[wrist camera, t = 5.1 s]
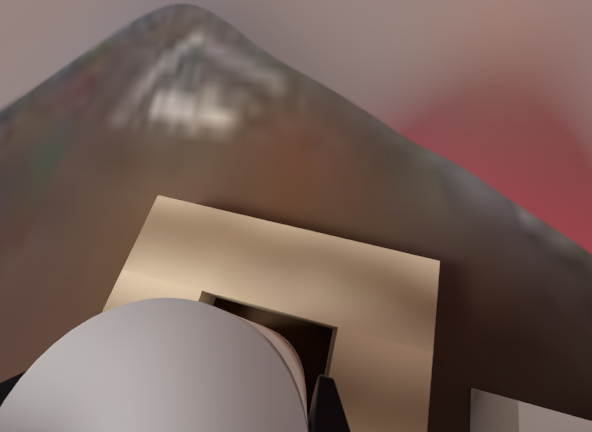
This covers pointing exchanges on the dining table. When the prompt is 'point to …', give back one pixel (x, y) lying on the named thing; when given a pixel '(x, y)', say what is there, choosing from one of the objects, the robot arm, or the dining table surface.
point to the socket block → (304, 298)
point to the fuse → (162, 375)
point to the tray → (518, 416)
